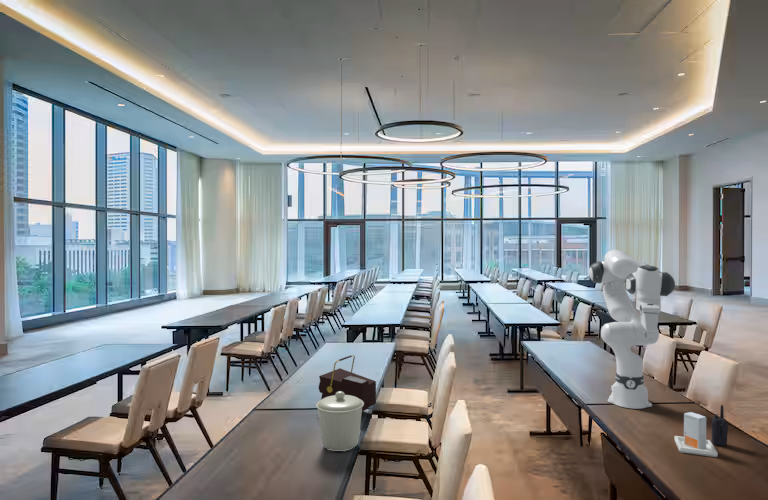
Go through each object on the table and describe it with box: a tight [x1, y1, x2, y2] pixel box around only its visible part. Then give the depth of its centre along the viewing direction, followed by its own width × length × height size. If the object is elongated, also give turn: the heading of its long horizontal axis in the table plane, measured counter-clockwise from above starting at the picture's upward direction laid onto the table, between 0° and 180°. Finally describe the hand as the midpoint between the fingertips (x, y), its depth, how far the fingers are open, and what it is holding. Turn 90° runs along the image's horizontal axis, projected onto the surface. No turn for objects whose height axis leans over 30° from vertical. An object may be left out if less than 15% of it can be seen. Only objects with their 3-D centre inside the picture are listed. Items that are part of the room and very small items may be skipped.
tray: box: [673, 435, 719, 458], centre depth 184 cm, size 12×12×2 cm
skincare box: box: [683, 411, 707, 450], centre depth 184 cm, size 6×4×12 cm
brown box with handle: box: [318, 354, 377, 413], centre depth 225 cm, size 16×23×25 cm
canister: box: [315, 391, 364, 450], centre depth 188 cm, size 18×18×21 cm
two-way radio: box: [711, 404, 729, 446], centre depth 186 cm, size 6×4×15 cm
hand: (648, 339), depth 201 cm, fingers open, 8 cm apart
